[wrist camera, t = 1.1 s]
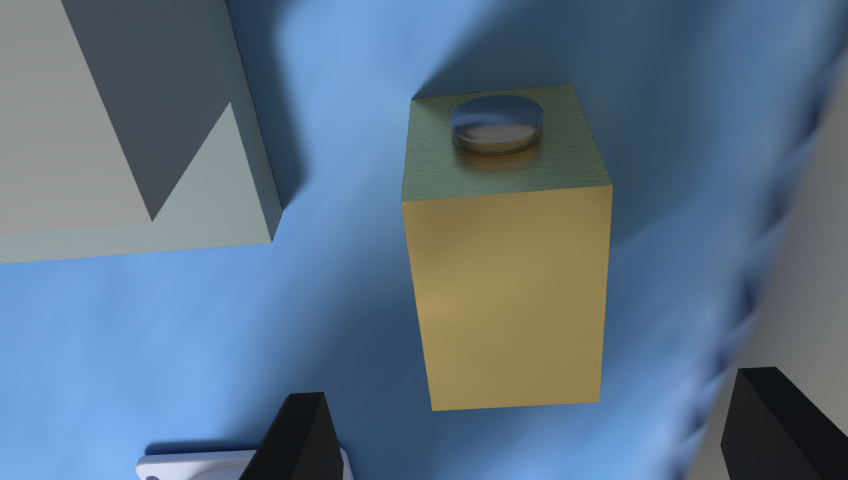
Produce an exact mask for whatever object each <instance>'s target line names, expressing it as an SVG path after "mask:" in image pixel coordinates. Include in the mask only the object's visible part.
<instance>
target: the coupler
mask: <svg viewBox="0 0 848 480" xmlns="http://www.w3.org/2000/svg"><path fill="white" fill-rule="evenodd" d="M612 197H613V183H612V181H611V178H610V176H609V173H608V171H607V169H606V166H605V164H604V161H603V159H602V157H601V154H600V152H599V149H598V147H597V144H596V142H595V140H594V137H593V135H592V132H591V130H590V127H589V125H588V123H587V120H586V118H585V115H584V113H583V110H582V108H581V106H580V103H579V101H578V98H577V96H576V94H575V91H574V89H573V86H572V84H567V85H556V86H545V87H534V88H524V89H513V90H502V91H491V92H480V93H470V94H459V95H448V96H437V97H427V98H416V99H411V104H410V115H409V125H408V135H407V145H406V155H405V165H404V176H403V186H402V196H401V206H402V213H403V219H404V226H405V233H406V239H407V246H408V253H409V259H410V266H411V272H412V279H413V286H414V292H415V299H416V306H417V312H418V319H419V326H420V332H421V339H422V346H423V352H424V359H425V366H426V372H427V379H428V386H429V392H430V399H431V405H432V411H443V410H462V409H480V408H499V407H517V406H536V405H554V404H573V403H592V402H599V401H600V385H601V369H602V354H603V338H604V322H605V307H606V291H607V275H608V260H609V244H610V228H611V213H612Z"/></svg>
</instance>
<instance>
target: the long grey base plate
mask: <svg viewBox="0 0 848 480" xmlns="http://www.w3.org/2000/svg"><path fill="white" fill-rule="evenodd" d="M282 213H283V211H282V207H281V203H280V200H279V196H278V193H277V189H276V185H275V182H274V178H273V174H272V171H271V167H270V163H269V160H268V156H267V152H266V149H265V145H264V141H263V138H262V134H261V130H260V127H259V123H258V119H257V116H256V112H255V108H254V105H253V101H252V98H251V94H250V90H249V87H248V83H247V79H246V76H245V72H244V68H243V65H242V61H241V57H240V54H239V50H238V46H237V43H236V39H235V35H234V32H233V28H232V24H231V21H230V17H229V13H228V10H227V6H226V2H225V0H0V264H6V263H19V262H32V261H45V260H58V259H71V258H84V257H97V256H110V255H123V254H136V253H149V252H162V251H175V250H188V249H201V248H214V247H227V246H240V245H253V244H266V243H272V241H273V238H274V235H275V233H276V230H277V227H278V224H279V222H280V219H281V216H282Z"/></svg>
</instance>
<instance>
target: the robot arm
mask: <svg viewBox="0 0 848 480" xmlns="http://www.w3.org/2000/svg"><path fill="white" fill-rule="evenodd" d="M720 446H721V449H722V452H723V456H724V460H725V463H726V467H727V470H728V474H729V477H730V480H848V437H847V436H846V435H845V434H844V433H843V432H842V431H841V430H840V429H839V428H837V426H836V425H835V424H834V423H833V422H832V421H830V420H829V419H828V418H827V417H826V416H825V415H824V414H823V413H822V412H821V411H820V410H819V409H818V408H817V407H816V406H815V405H814V404H813V403H812V402H811V401H810V400H809V399H808V398H807V397H806V396H805V395H804V394H803V393H802V392H801V391H800V390H799V389H798V388H797V387H796V386H795V385H794V384H793V383H792V382H791V381H790V380H789V379H788V378H787V377H786V376H785V375H784V374H783V373H782V372H781V371H780V370H779V369H777V368H776V367H760V368H741V369H738V372H737V376H736V380H735V385H734V389H733V393H732V398H731V402H730V406H729V411H728V415H727V419H726V423H725V428H724V432H723V436H722V441H721V445H720ZM135 470H136V472H137V474H138V476H139V478H140V479H141V480H354V478H353V475H352V471H351V468H350V464H349V460H348V457H347V454H346V452H345V451H344V450H343V449H342V448H340V447H339V444H338V441H337V437H336V434H335V430H334V427H333V423H332V420H331V416H330V413H329V409H328V406H327V402H326V399H325V395H324V392H315V393H297V394H290V395H289V396H288V397H287V398H286V399H285V401H284V403H283V405H282V407H281V408H280V410H279V412H278V414H277V416H276V417H275V419H274V421H273V423H272V425H271V426H270V428H269V430H268V432H267V433H266V435H265V437H264V438H263V440H262V442H261V444H260V445H259V447H258V449H257V450H243V451H223V452H204V453H184V454H165V455H147V456H143V457H141V458H139V461H138V463H137V465H136V467H135Z"/></svg>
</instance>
